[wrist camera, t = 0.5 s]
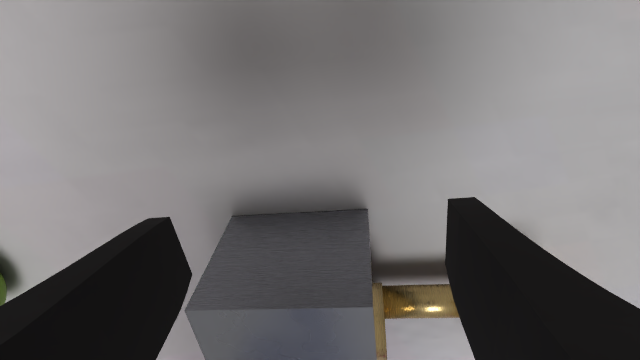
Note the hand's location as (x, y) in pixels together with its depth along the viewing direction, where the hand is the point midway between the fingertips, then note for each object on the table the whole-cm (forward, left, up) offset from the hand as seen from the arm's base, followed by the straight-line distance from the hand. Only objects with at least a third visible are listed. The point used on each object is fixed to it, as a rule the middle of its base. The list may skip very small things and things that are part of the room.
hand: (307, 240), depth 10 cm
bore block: (-11, +2, -10) cm, 15 cm away
